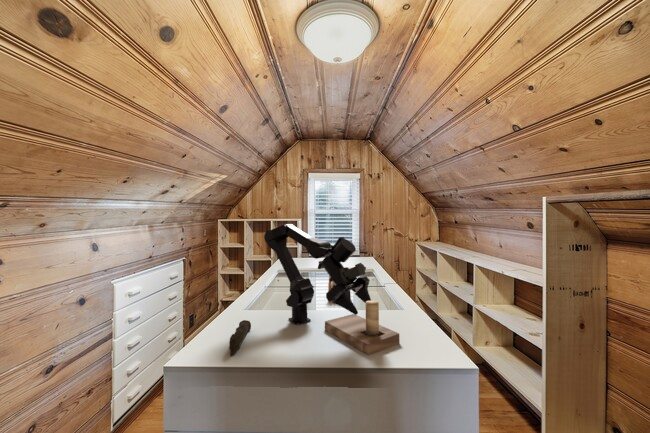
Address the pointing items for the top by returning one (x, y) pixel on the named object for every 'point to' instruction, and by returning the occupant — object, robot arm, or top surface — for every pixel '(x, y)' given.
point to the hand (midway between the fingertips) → (364, 309)
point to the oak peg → (372, 319)
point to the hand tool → (239, 336)
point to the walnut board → (361, 334)
